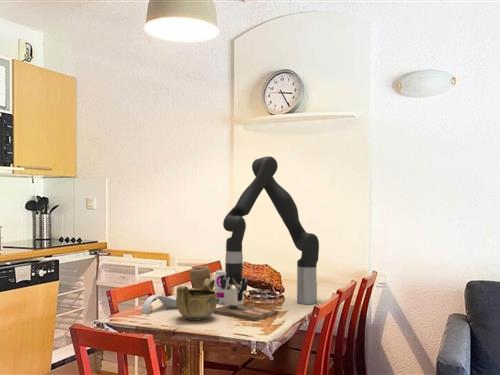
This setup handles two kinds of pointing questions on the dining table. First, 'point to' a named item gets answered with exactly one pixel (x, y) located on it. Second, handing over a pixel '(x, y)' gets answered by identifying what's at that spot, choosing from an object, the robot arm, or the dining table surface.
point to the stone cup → (199, 276)
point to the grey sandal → (165, 301)
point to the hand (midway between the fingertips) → (233, 299)
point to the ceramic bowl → (197, 301)
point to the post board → (245, 312)
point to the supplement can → (219, 286)
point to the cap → (232, 297)
